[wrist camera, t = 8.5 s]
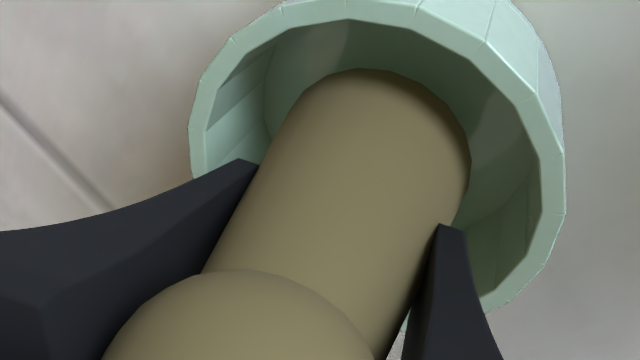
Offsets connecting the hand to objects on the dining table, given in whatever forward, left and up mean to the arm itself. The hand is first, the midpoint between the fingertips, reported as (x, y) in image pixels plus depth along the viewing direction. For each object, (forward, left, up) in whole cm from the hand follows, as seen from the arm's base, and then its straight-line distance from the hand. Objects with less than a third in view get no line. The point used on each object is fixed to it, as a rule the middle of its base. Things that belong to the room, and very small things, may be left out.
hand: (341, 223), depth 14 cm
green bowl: (0, 0, -6) cm, 6 cm away
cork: (0, 0, -4) cm, 4 cm away
